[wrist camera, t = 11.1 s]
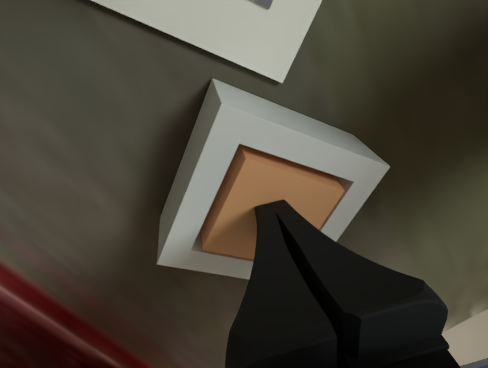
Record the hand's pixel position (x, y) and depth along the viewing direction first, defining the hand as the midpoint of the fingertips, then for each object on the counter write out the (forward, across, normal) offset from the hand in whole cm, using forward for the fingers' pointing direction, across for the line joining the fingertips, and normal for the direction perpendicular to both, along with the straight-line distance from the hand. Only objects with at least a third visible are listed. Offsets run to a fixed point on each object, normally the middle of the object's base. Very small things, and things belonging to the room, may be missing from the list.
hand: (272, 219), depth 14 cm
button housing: (+4, 0, 0) cm, 4 cm away
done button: (+2, 0, 0) cm, 2 cm away
